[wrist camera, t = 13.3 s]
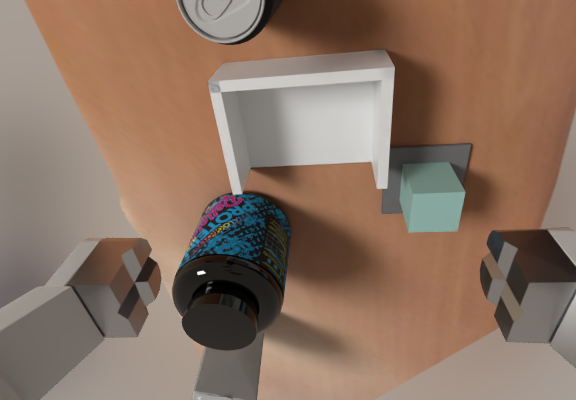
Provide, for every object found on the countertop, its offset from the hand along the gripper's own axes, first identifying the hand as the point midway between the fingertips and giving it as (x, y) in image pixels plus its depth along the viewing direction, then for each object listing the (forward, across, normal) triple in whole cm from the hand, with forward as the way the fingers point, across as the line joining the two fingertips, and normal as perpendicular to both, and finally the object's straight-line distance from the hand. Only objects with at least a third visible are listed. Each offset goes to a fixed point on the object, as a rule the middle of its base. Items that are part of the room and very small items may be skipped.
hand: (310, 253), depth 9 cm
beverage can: (+31, +6, -4) cm, 32 cm away
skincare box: (+31, +15, +42) cm, 55 cm away
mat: (+31, -11, +18) cm, 38 cm away
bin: (+31, +2, +9) cm, 32 cm away
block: (+31, -11, +18) cm, 37 cm away
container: (+31, +11, +24) cm, 41 cm away
